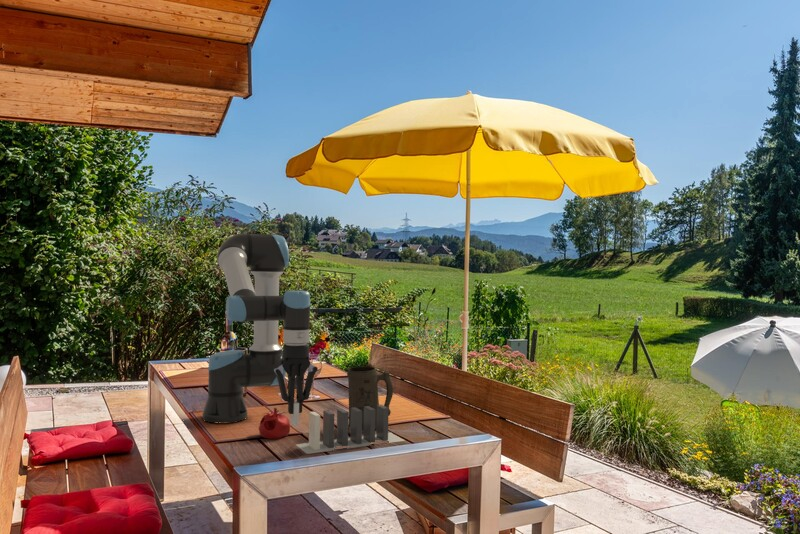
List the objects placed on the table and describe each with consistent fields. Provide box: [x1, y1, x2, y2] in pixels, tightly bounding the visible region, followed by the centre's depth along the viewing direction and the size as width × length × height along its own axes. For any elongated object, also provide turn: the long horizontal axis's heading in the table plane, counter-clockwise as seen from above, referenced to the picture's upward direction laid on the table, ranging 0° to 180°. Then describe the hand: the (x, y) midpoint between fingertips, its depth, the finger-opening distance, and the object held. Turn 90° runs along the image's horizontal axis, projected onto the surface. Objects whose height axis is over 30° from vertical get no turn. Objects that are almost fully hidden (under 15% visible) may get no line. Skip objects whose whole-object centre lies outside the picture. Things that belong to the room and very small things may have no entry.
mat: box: [295, 432, 406, 455], centre depth 190 cm, size 32×10×1 cm, turn 118°
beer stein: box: [346, 366, 394, 432], centre depth 209 cm, size 15×11×20 cm
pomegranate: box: [258, 407, 291, 440], centre depth 196 cm, size 10×10×9 cm
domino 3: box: [336, 408, 349, 446], centre depth 189 cm, size 2×5×10 cm, turn 28°
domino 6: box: [375, 404, 390, 441], centre depth 195 cm, size 2×5×10 cm, turn 28°
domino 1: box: [308, 411, 321, 450], centre depth 184 cm, size 2×5×10 cm, turn 28°
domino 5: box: [362, 406, 376, 443], centre depth 193 cm, size 2×5×10 cm, turn 28°
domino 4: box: [349, 407, 363, 444], centre depth 191 cm, size 2×5×10 cm, turn 28°
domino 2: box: [322, 409, 335, 448], centre depth 186 cm, size 2×5×10 cm, turn 28°
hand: (294, 424), depth 182 cm, fingers closed
